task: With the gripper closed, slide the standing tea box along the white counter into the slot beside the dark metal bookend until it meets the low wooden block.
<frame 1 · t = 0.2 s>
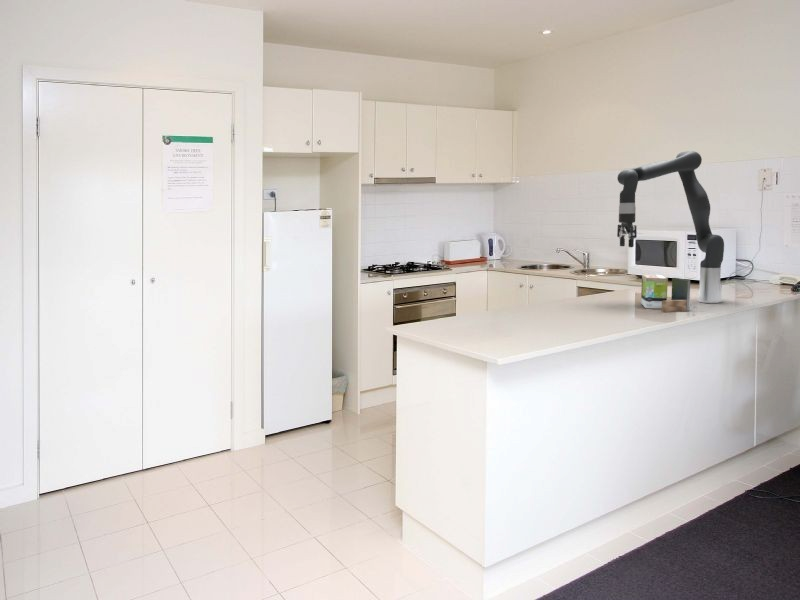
hand: (626, 246, 333), 29 cm above the countertop, fingers open, 8 cm apart
bookend: (680, 308, 324), on the countertop
tea box: (653, 306, 334), on the countertop
wooden block: (674, 311, 318), on the countertop
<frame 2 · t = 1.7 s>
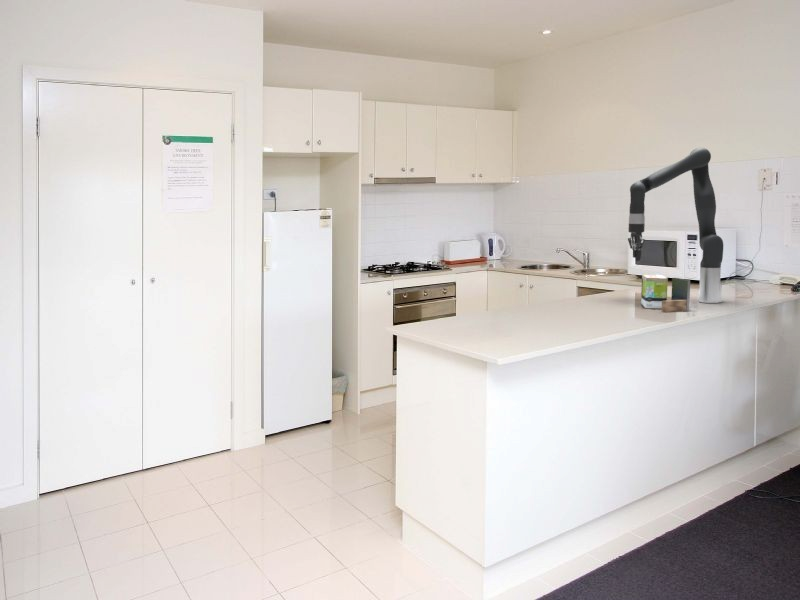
hand: (635, 257, 349), 22 cm above the countertop, fingers closed
nothing on the countertop moved.
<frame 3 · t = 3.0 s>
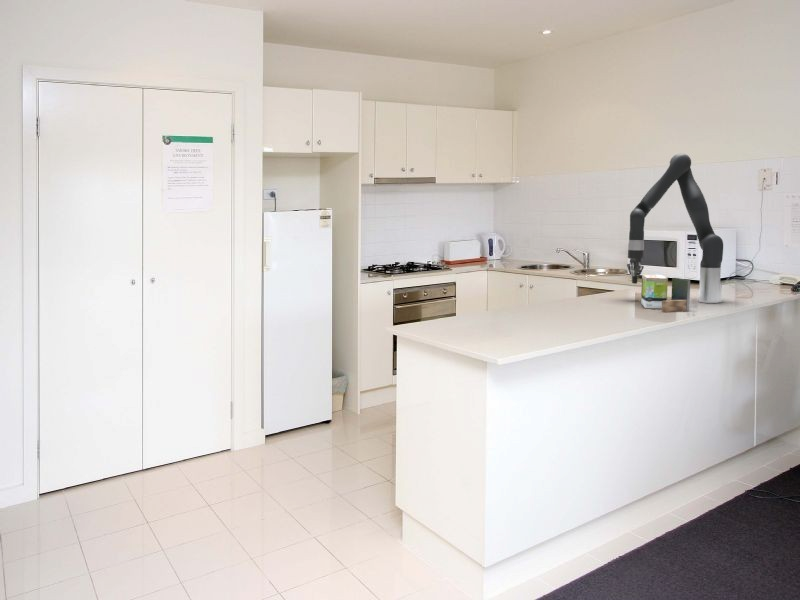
hand: (634, 283, 351), 9 cm above the countertop, fingers closed
nothing on the countertop moved.
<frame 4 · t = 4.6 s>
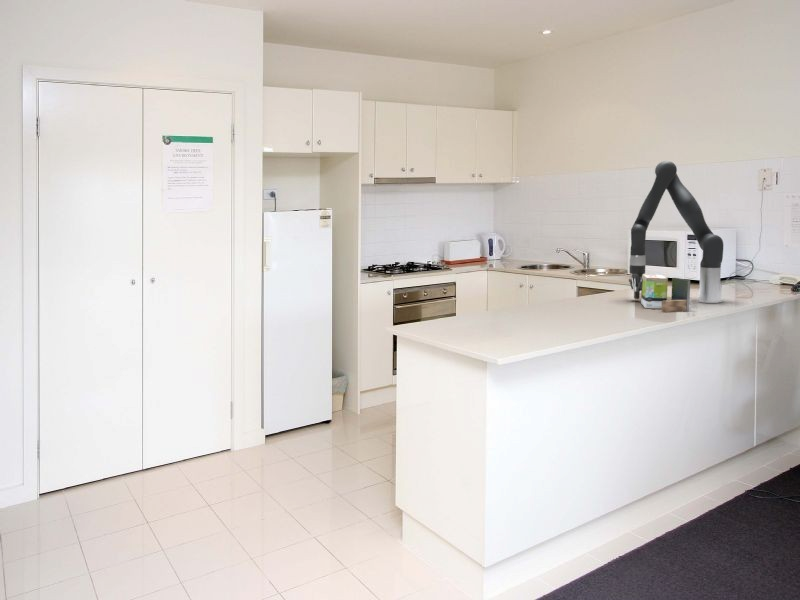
hand: (636, 298, 350), 1 cm above the countertop, fingers closed
nothing on the countertop moved.
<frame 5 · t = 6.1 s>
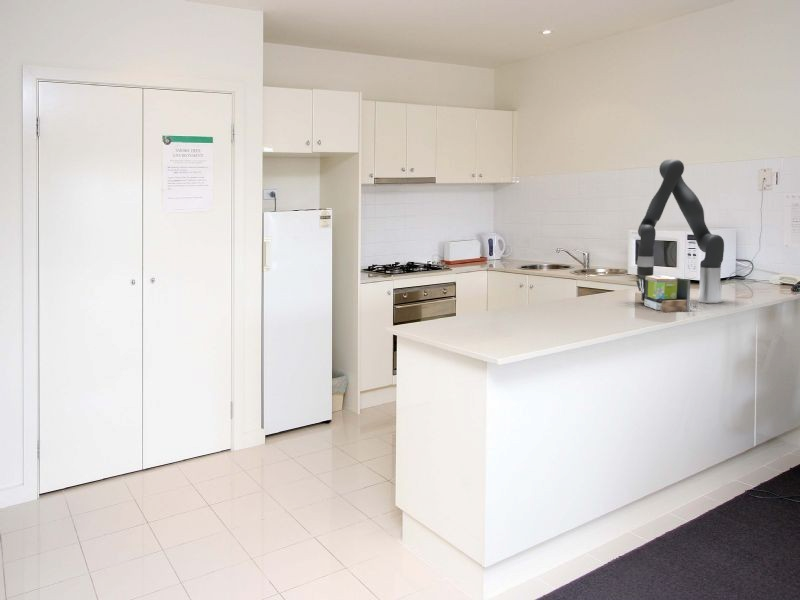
hand: (644, 300, 342), 2 cm above the countertop, fingers closed
tea box: (660, 308, 329), on the countertop, touching hand
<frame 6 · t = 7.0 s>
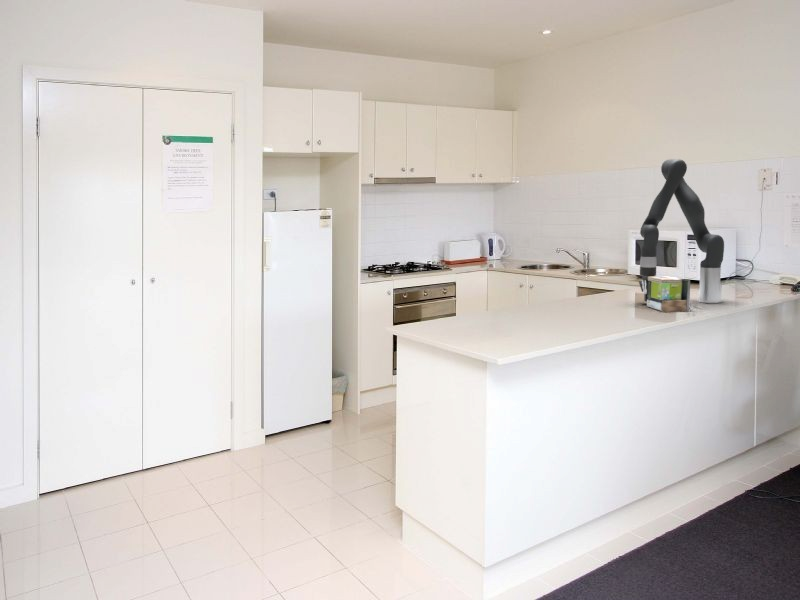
hand: (646, 301, 339), 2 cm above the countertop, fingers closed
tea box: (663, 308, 327), on the countertop, touching hand
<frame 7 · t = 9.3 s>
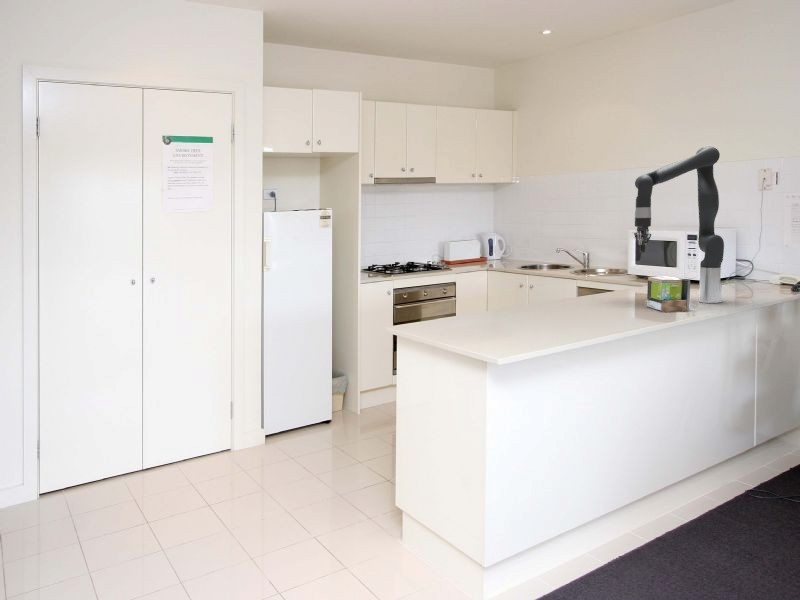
hand: (642, 252, 343), 25 cm above the countertop, fingers closed
tea box: (663, 309, 327), on the countertop
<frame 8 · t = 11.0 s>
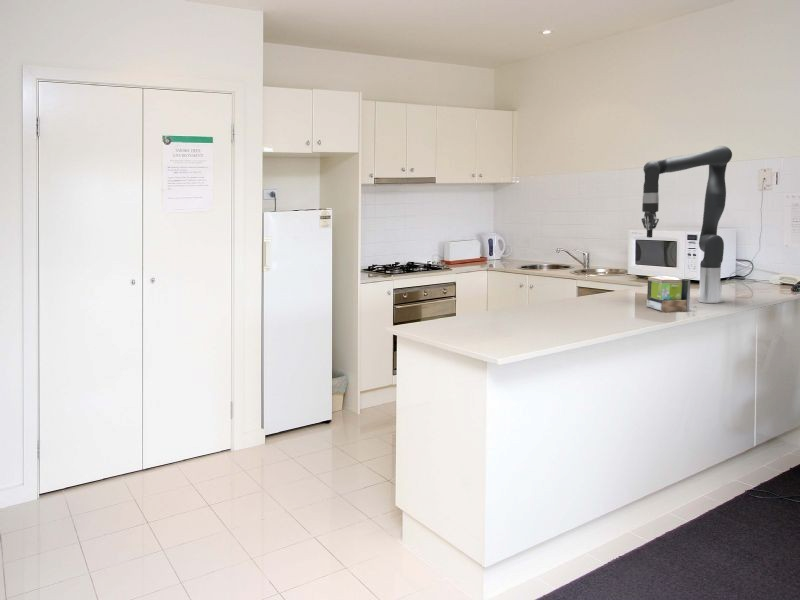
hand: (649, 237, 347), 32 cm above the countertop, fingers closed
nothing on the countertop moved.
at the end: tea box 0.7 cm from the target spot, on the countertop; tea box tilted 0° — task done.
